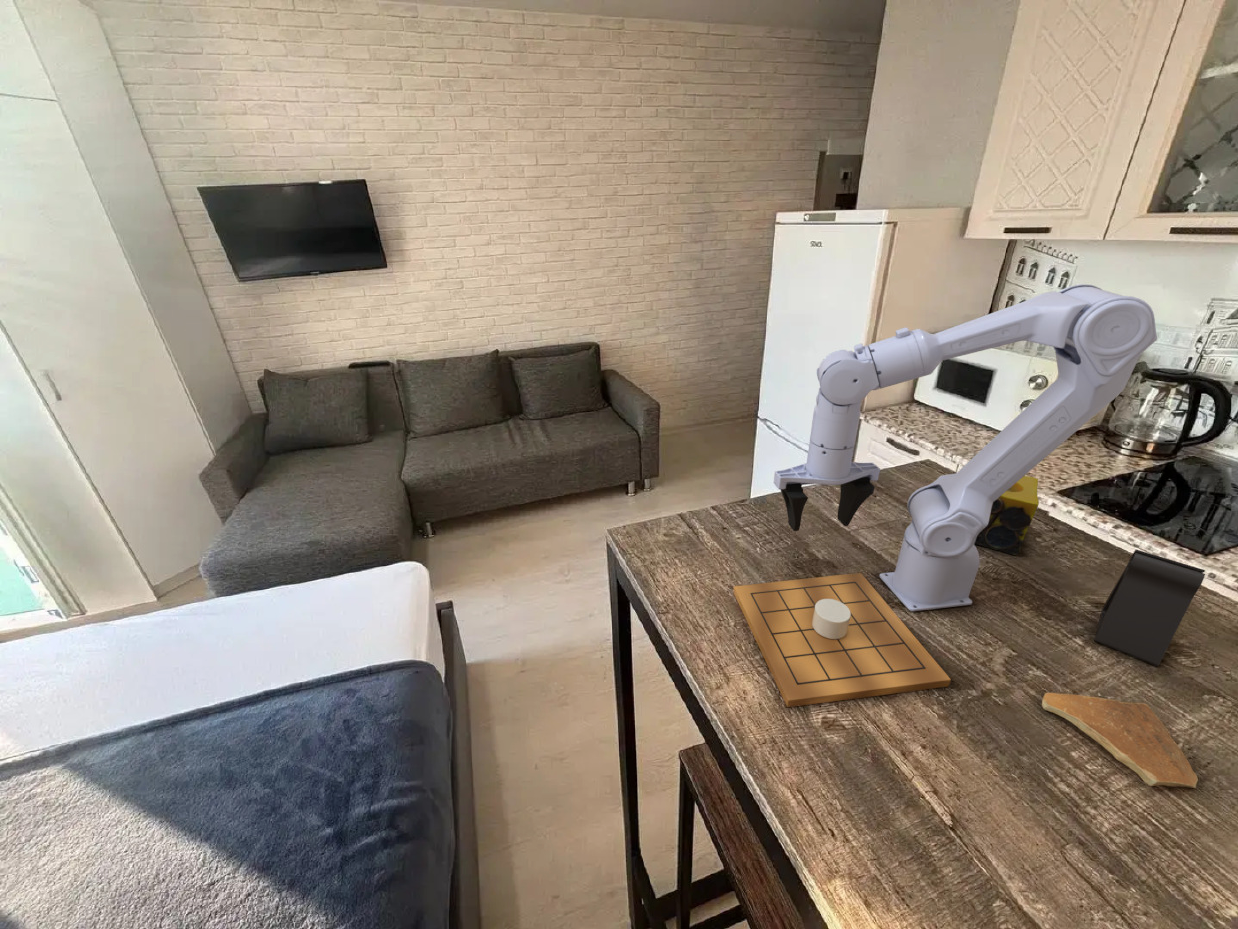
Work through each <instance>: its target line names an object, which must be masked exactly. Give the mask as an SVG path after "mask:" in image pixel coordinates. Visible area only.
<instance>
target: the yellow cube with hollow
mask: <svg viewBox="0 0 1238 929" xmlns="http://www.w3.org/2000/svg"><path fill="white" fill-rule="evenodd" d="M1038 485H1039V479H1038V478H1037V477H1034V476H1029V475H1025V476H1023V477H1022V478H1021V479H1020V480H1019V481H1017V482H1016V483H1015V484H1014V485H1013V486H1012V487H1010V488H1009V489H1008V490H1007V491H1006V492H1005V493H1003V494H1002V495H1001V496H1000V497H999V498H998V499H996V500H995V501H994V502H993V504H992V508H991V513H990V518H989V522H988V525H987V526H986V527H985V528H984V529H983V530H982V531H981V532H980V533H979V534H978V536H977V538H976V540H975V543H974V545H975V546H980V547H984V548H988V549H991V550H994V551H1000V552H1003V553H1006V554H1009V555H1013V556H1017V555H1019V554H1020V551H1021V548H1022V547H1023V544H1024V541H1025V536H1026V534H1027V532H1028V530H1029V527H1030V525H1031V523H1032V521H1033V519H1034V517H1035V515H1036V512H1037V509H1038V507H1039V504H1040V500H1039V496H1038Z"/></svg>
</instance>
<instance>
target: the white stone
mask: <svg viewBox="0 0 1238 929" xmlns="http://www.w3.org/2000/svg"><path fill="white" fill-rule="evenodd" d="M850 617H851V613H850V610H849V608H848V607H847V606H846V605H845V604H843V603H841V602H839V601H837V600H834V599H822V600H819V601H818V602H817V603H816V604H815V609H814V614H813V620H812V626H813V628H814V630H815V631H816V632H817V633H818V634H820V635H821V636H823V637H826V638H829V639H840V638H843V637H844V636H845V635H846V634H847V630H848V626H849V621H850Z"/></svg>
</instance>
